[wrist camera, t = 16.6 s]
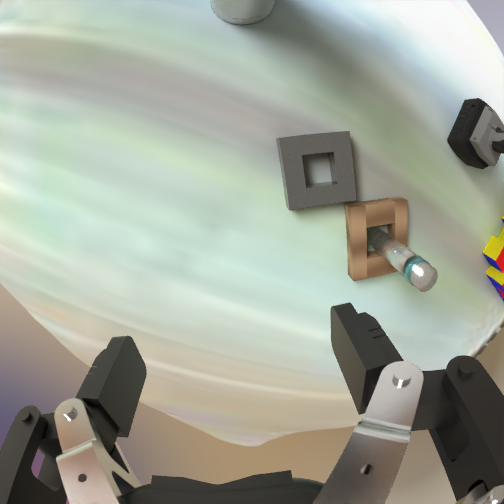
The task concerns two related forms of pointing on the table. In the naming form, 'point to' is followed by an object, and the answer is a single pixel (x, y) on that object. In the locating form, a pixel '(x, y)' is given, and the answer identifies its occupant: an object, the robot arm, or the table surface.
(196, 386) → the table surface
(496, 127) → the cordless drill
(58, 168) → the table surface
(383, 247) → the clear test tube
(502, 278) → the building blocks toy
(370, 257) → the rack block
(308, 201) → the grey flat square frame
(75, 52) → the table surface
